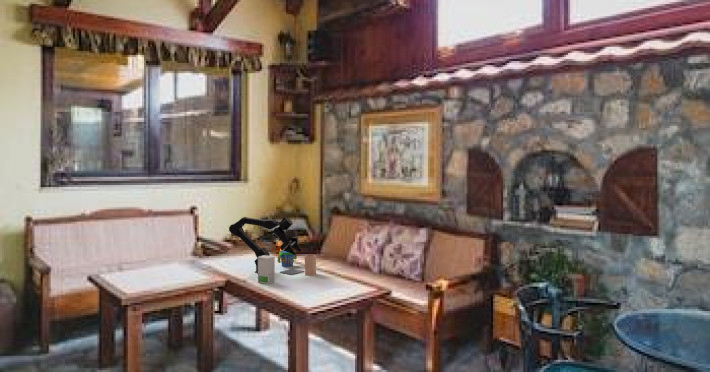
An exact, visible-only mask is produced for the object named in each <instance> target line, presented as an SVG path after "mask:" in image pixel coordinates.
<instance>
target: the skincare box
mask: <svg viewBox="0 0 710 372" xmlns="http://www.w3.org/2000/svg"><path fill="white" fill-rule="evenodd" d="M275 258H276V257H275V256H271V255H270V256H267V255H263V256H259V257H258V273H257V283H260V284H267V285H269V284H272V283H275V281H276V280H275V279H276V278H275V275H276V274H275V270H276V269H275V266H276V264H275V262H276V261H275Z"/></svg>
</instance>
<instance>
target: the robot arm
mask: <svg viewBox="0 0 710 372" xmlns="http://www.w3.org/2000/svg"><path fill="white" fill-rule="evenodd" d="M245 225H252V226H257V227H262V228H264V229H267V230H270V235H271V236H273V235H275V236H276V238H277V239H278V241H279V242H281V243H282V244H281V245H279V249H280V251H282V250H283V251H286V252H289V253H291V254H294V255H297V253H295V252H296V251H297V252H299V253H301V252H302V249H301V247H300V245H299V237H298V235H299V234H298V230H296V229H294V230H291V232H290V233H289V232H286V231H288V230H289V228H291V226H292V225H294V222H293V221H292V220H291V219H290V218H288V217H287V216H284V217H283V218H282V219H281V221H278V220H276V219H274V218H273V219H262V218H261V219H259V218H258V219H257V218H255V217H252V218H251V217H247V216H243V217H241V218H240V219H239V220H238V221H236V222H234V223H232V224H230V225H229V227H228V232H230V233H231V234H232V235H233V236H236V237H238V238H239V239H240V240H241V241H242V242H243V243H244V244H245V245H246V246H247V247H249V248H250V249H251V251H253V253H254V254H255V257H256V259H255V260H254V263H255V271H254V273H255V274H256V273H257V274H258V257H259V256H263V255H267V256H271V255H270V252H269V250H268V249H266V247H260V246H259V245H258V244H257V243H256V242H255V241H254V240H253V239H252V238H251V237H250V236H249V235H248V234H247V233H246V232H245V231H244V228H243V227H244V226H245Z"/></svg>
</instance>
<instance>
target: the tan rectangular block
mask: <svg viewBox="0 0 710 372" xmlns="http://www.w3.org/2000/svg"><path fill="white" fill-rule="evenodd" d="M304 275H305V276H309V277H311V276H312V277H313V276H315V275H317V255H316V254H307V255H305V256H304Z"/></svg>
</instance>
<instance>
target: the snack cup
mask: <svg viewBox="0 0 710 372" xmlns="http://www.w3.org/2000/svg"><path fill="white" fill-rule="evenodd" d="M278 253H279V254H277V255H278V256H277V263H279V264H280V263H281V266H282V267H284V268H289V267H293V266H294V261H295V260H297V253H296V251H295V253H296V255H294V254H291V253H289V252H286V251H283V250H280V251H279V252H278Z"/></svg>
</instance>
